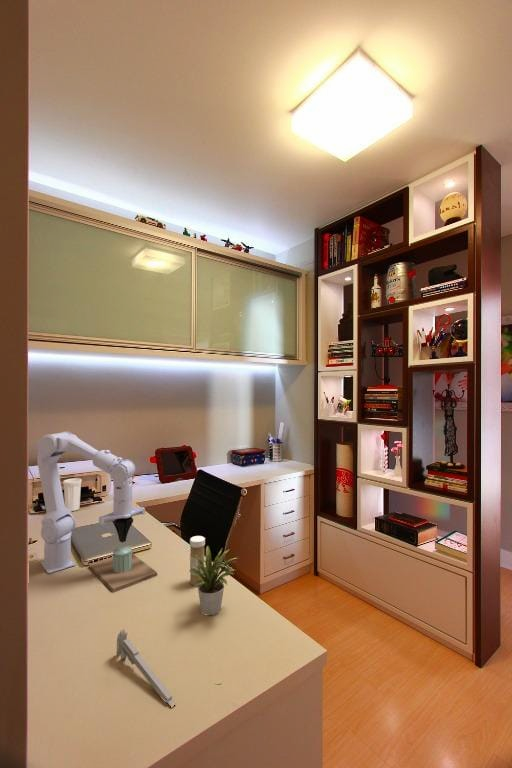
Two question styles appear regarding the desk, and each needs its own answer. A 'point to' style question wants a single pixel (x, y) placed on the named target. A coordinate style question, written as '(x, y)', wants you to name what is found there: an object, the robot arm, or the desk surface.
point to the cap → (122, 559)
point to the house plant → (211, 581)
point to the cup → (72, 493)
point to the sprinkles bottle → (197, 549)
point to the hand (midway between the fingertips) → (122, 540)
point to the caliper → (141, 665)
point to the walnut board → (125, 579)
